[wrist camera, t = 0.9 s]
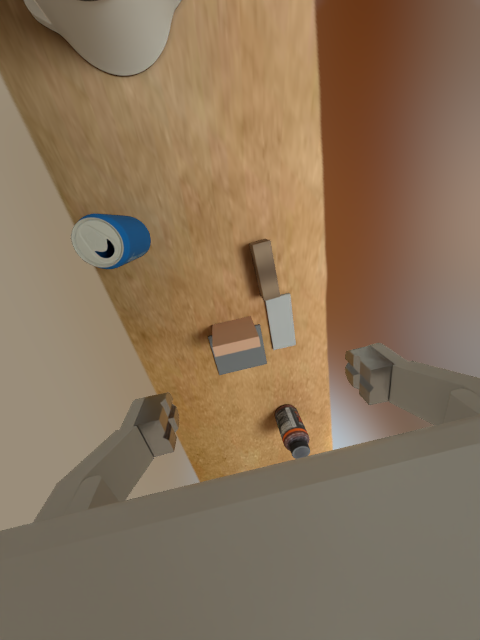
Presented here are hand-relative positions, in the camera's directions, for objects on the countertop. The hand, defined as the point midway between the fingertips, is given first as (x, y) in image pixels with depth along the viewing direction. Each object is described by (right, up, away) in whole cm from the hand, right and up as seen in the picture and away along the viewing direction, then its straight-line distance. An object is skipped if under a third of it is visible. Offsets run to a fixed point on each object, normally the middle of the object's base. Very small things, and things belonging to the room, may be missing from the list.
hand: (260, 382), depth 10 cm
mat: (-1, -4, +38) cm, 38 cm away
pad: (+8, +2, +36) cm, 37 cm away
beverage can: (-19, +17, +27) cm, 37 cm away
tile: (-3, +2, +35) cm, 36 cm away
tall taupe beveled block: (+3, +13, +32) cm, 34 cm away
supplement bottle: (+11, -21, +47) cm, 53 cm away
